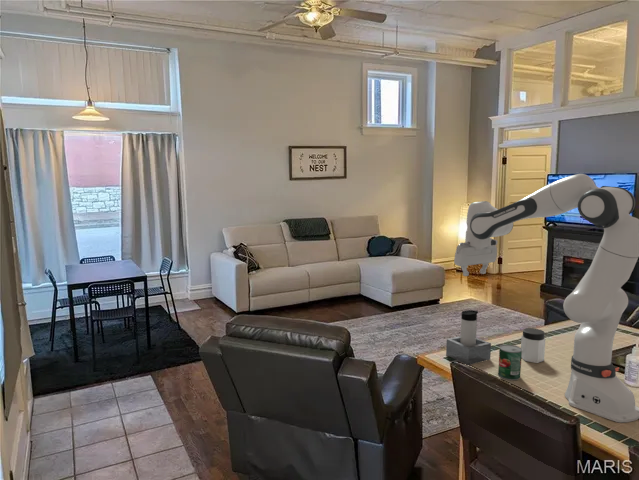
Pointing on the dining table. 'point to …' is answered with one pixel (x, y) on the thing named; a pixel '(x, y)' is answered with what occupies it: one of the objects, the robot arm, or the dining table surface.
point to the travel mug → (468, 328)
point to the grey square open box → (468, 351)
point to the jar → (533, 345)
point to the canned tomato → (509, 362)
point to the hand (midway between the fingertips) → (474, 274)
